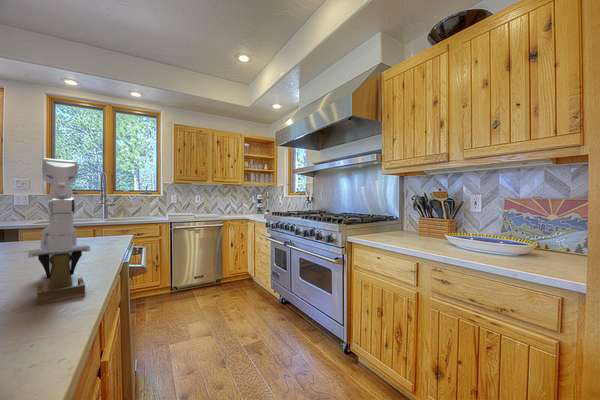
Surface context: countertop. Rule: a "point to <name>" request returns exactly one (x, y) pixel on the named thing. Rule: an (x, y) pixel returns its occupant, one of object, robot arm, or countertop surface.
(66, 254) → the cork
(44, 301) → the spice rack
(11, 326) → the countertop surface
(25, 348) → the countertop surface
